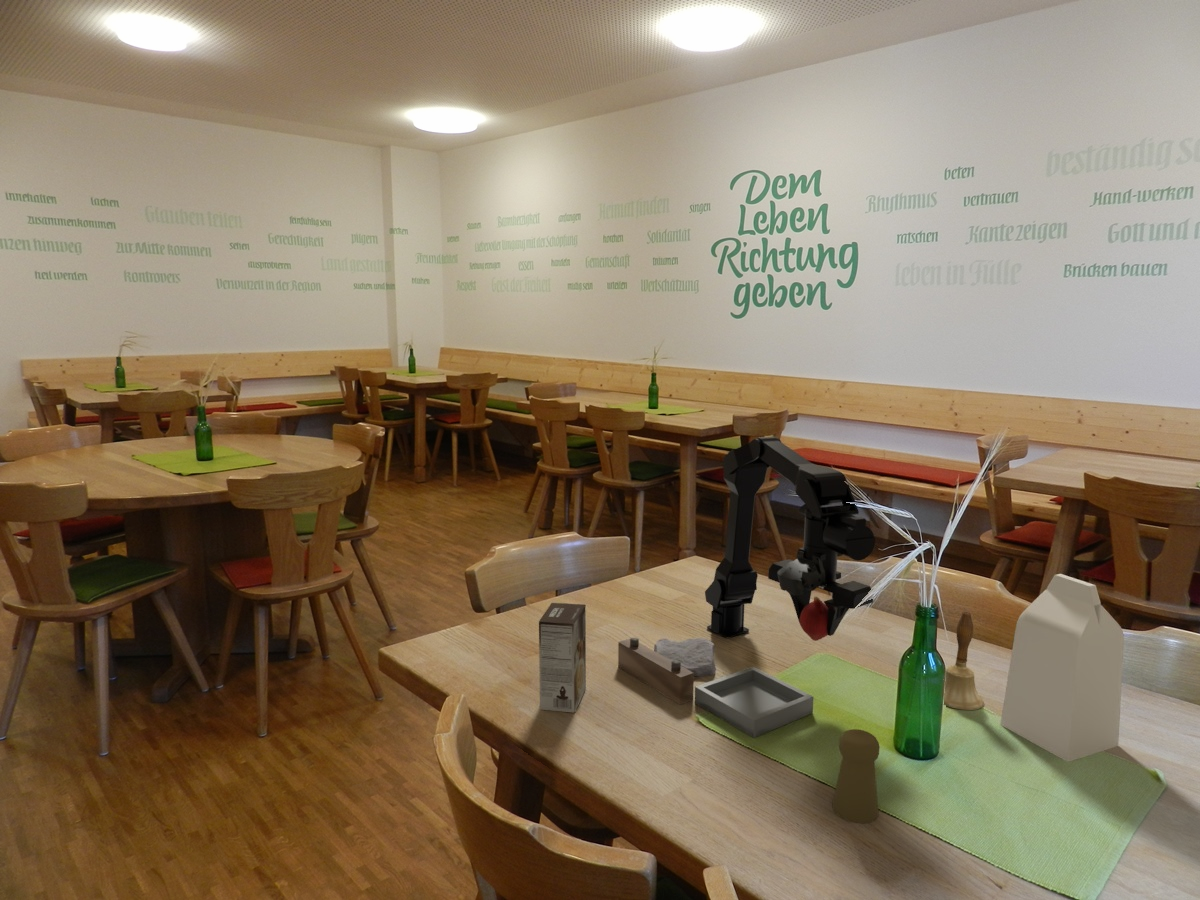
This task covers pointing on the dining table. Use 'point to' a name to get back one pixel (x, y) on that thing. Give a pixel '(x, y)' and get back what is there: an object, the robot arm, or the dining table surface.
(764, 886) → the dining table surface
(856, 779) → the brown peg figure
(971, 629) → the hand bell
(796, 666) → the dining table surface
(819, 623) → the onion
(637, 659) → the bar
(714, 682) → the tray
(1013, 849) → the dining table surface
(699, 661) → the stone block
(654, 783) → the dining table surface
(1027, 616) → the milk
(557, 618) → the coffee box
